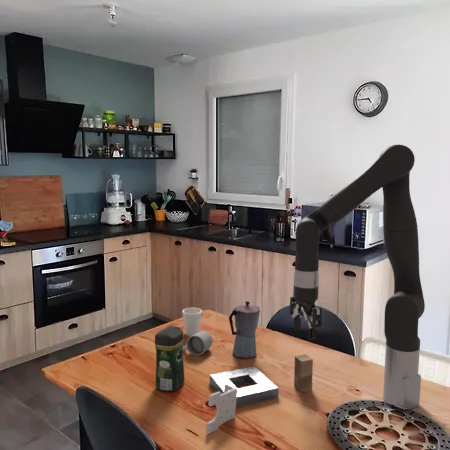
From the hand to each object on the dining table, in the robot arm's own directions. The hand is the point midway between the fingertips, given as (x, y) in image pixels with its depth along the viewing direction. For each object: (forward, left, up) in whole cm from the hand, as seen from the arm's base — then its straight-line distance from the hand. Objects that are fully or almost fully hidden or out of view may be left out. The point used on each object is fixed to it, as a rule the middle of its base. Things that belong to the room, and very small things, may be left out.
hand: (304, 334), depth 138 cm
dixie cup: (+57, +17, -18) cm, 62 cm away
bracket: (-7, +32, -18) cm, 37 cm away
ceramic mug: (+39, +21, -18) cm, 48 cm away
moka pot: (+30, +6, -18) cm, 35 cm away
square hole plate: (+6, +18, -17) cm, 26 cm away
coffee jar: (+18, +38, -18) cm, 46 cm away
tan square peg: (0, 0, -18) cm, 18 cm away
